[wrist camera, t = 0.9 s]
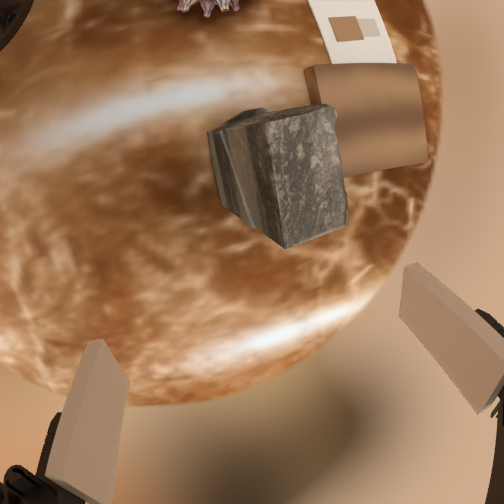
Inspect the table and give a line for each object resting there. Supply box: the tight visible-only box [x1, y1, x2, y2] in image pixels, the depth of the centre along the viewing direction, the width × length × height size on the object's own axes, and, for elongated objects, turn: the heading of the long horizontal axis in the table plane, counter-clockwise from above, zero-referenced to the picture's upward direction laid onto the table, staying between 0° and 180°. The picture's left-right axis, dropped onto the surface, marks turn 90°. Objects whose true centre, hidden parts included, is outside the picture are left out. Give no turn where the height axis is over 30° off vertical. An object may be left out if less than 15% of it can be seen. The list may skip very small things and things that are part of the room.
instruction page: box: [307, 0, 397, 64], centre depth 24 cm, size 12×9×1 cm
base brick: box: [304, 63, 428, 178], centre depth 28 cm, size 12×13×3 cm
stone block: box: [207, 104, 349, 249], centre depth 23 cm, size 9×14×5 cm
